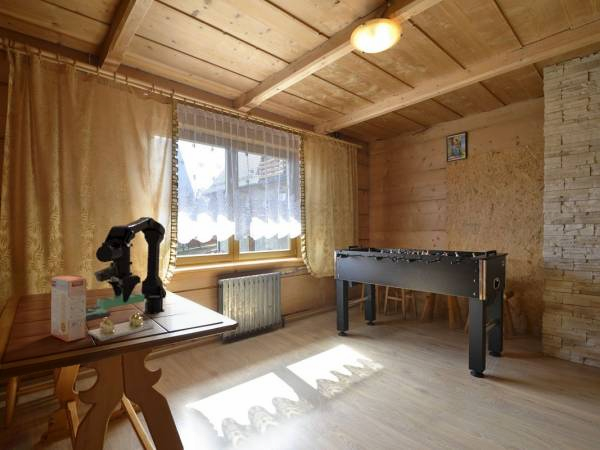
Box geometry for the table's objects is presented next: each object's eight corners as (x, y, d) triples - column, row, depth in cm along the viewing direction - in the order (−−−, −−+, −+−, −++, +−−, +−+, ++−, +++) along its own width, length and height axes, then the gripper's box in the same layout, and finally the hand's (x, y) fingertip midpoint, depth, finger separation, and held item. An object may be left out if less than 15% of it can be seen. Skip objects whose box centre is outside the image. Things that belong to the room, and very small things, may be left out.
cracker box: (87, 337, 107) (87, 278, 107) (66, 343, 102) (67, 280, 102) (70, 330, 115) (70, 274, 115) (50, 335, 110) (50, 276, 110)
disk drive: (70, 316, 134) (83, 322, 126) (70, 310, 135) (83, 315, 126) (97, 311, 143) (111, 316, 134) (97, 305, 143) (111, 310, 134)
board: (136, 299, 122) (136, 292, 122) (144, 301, 118) (144, 295, 118) (96, 305, 111) (96, 299, 111) (103, 308, 107) (103, 301, 107)
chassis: (139, 321, 125) (139, 308, 125) (153, 327, 118) (153, 313, 118) (88, 333, 111) (88, 318, 111) (100, 341, 104) (100, 325, 104)
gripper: (88, 259, 114) (88, 301, 114) (107, 263, 103) (106, 309, 102) (120, 257, 123) (120, 295, 123) (141, 260, 111) (141, 303, 111)
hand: (121, 300), depth 115 cm, fingers closed on board, 6 cm apart
